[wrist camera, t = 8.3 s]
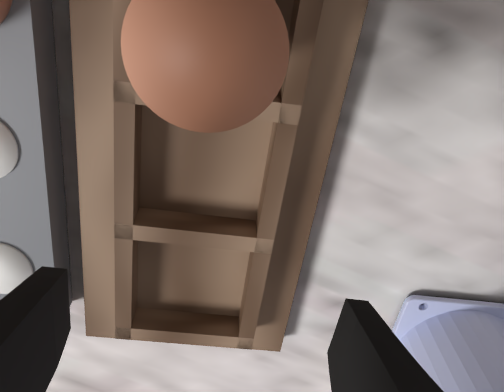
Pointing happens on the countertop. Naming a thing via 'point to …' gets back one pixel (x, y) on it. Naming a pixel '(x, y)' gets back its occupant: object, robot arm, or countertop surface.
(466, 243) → the countertop surface
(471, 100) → the countertop surface
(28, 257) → the stand
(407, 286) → the countertop surface
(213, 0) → the wooden peg
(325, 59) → the board
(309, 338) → the countertop surface
